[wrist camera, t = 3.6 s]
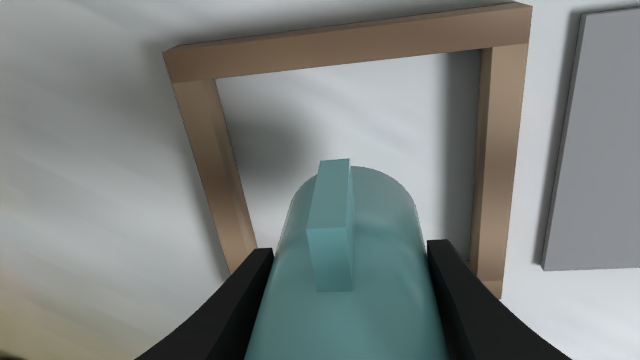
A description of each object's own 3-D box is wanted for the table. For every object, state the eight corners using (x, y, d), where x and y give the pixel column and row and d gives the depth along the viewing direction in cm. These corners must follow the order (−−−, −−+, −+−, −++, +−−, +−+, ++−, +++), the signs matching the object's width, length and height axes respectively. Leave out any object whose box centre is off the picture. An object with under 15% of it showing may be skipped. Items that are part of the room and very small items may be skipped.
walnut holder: (492, 278, 21) (501, 299, 20) (247, 286, 23) (240, 306, 22) (517, 2, 15) (532, 6, 13) (177, 45, 17) (161, 52, 15)
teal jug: (419, 271, 16) (462, 506, 9) (298, 276, 17) (253, 497, 10) (415, 114, 13) (478, 287, 6) (268, 127, 14) (172, 297, 7)
